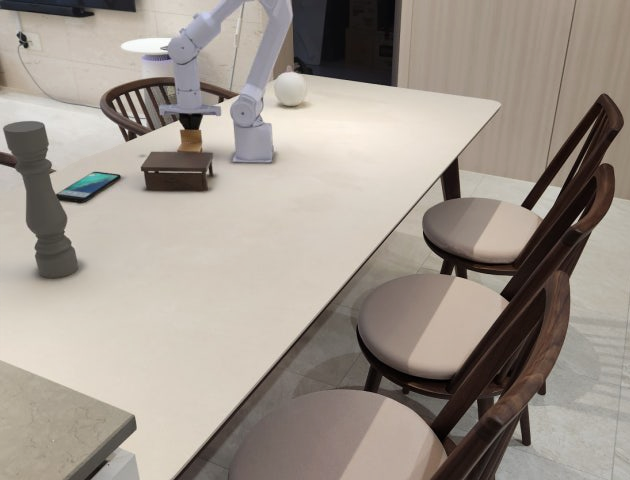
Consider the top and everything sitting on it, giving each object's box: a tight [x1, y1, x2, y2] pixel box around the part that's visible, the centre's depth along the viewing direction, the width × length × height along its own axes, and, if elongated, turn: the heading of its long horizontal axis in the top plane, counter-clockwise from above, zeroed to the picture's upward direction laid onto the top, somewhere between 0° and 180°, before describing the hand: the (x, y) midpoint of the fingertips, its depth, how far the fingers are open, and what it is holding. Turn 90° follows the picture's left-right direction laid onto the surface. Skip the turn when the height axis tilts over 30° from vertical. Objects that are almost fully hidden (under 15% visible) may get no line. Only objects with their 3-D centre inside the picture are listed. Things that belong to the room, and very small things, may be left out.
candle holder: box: [2, 120, 79, 279], centre depth 103 cm, size 6×6×25 cm
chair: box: [176, 129, 204, 152], centre depth 154 cm, size 5×6×7 cm
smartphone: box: [55, 171, 122, 203], centre depth 139 cm, size 7×1×15 cm
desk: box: [140, 151, 214, 192], centre depth 143 cm, size 14×10×6 cm
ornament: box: [273, 65, 308, 107], centre depth 199 cm, size 10×10×12 cm
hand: (194, 143), depth 159 cm, fingers closed, pressing on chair
